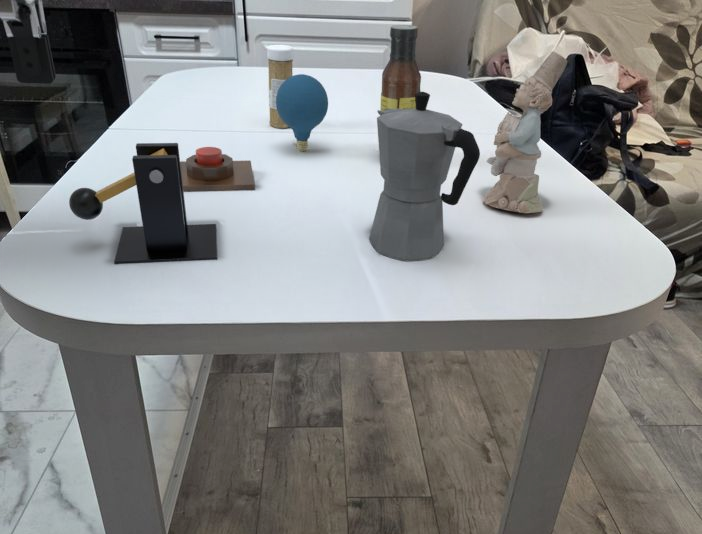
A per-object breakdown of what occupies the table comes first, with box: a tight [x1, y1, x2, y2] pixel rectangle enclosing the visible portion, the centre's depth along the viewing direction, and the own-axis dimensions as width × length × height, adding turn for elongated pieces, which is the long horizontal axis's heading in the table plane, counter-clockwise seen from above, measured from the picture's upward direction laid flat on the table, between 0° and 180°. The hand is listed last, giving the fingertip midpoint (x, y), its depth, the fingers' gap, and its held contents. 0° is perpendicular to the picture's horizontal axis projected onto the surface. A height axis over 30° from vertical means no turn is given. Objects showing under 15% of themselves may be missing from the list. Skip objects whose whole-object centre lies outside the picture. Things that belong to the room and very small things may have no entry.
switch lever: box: [68, 148, 168, 221], centre depth 67 cm, size 12×3×3 cm, turn 101°
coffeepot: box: [368, 91, 481, 262], centre depth 71 cm, size 15×9×18 cm, turn 39°
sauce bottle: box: [379, 24, 422, 110], centre depth 97 cm, size 6×6×20 cm
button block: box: [180, 153, 256, 193], centre depth 89 cm, size 12×10×4 cm
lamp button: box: [195, 146, 223, 166], centre depth 88 cm, size 4×4×2 cm
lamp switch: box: [113, 142, 218, 265], centre depth 69 cm, size 11×9×12 cm
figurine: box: [482, 51, 568, 214], centre depth 83 cm, size 9×8×20 cm
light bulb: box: [276, 73, 329, 152], centre depth 101 cm, size 8×8×12 cm
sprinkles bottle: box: [266, 44, 294, 129], centre depth 112 cm, size 5×5×13 cm
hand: (37, 80), depth 60 cm, fingers closed
